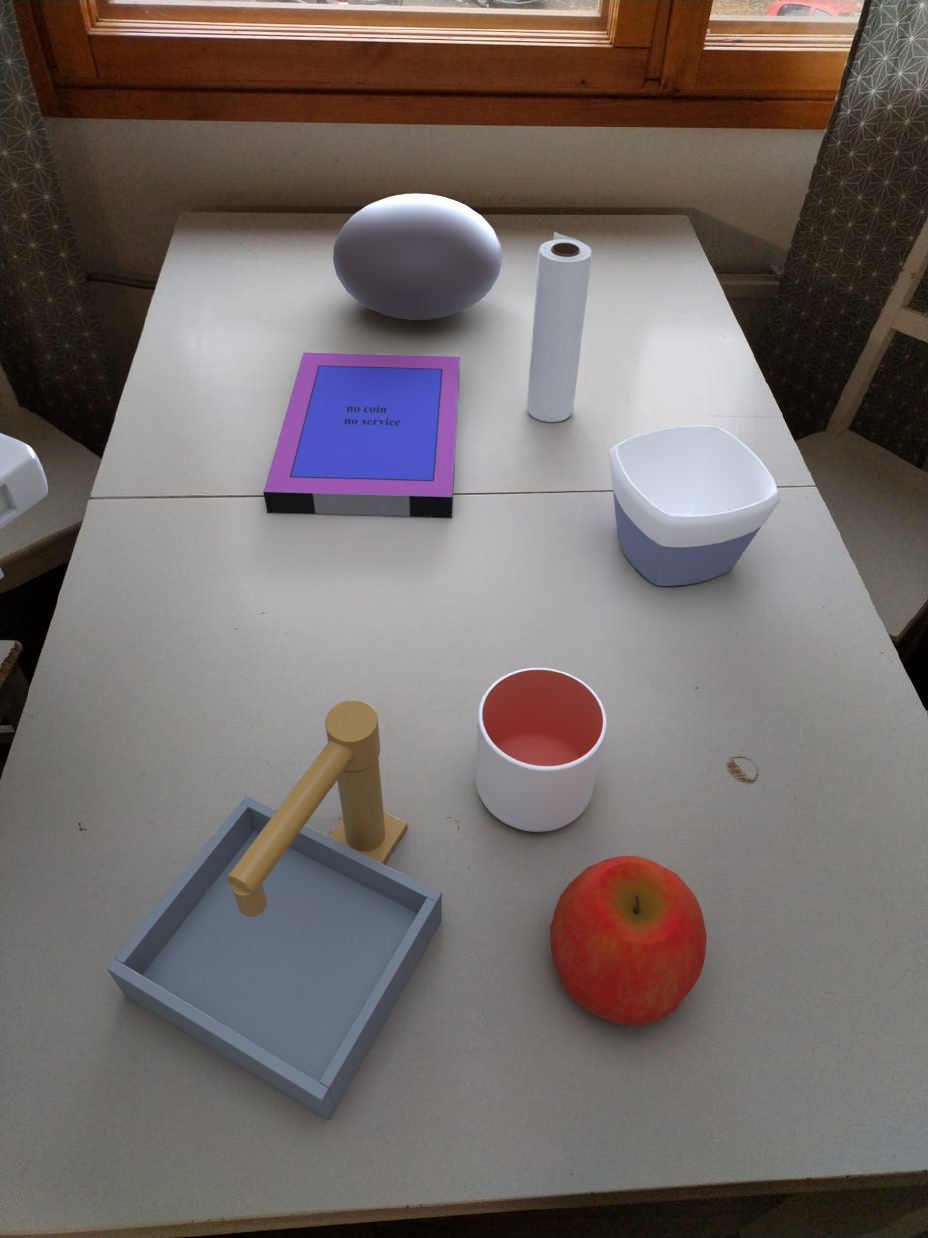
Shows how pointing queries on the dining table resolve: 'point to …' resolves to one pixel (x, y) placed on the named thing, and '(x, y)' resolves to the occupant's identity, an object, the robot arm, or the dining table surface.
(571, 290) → the paper towel roll
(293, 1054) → the sink
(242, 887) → the spout
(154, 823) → the dining table surface
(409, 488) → the book
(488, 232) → the smooth stone
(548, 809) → the cup
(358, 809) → the faucet base
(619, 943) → the apple
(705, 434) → the bowl
